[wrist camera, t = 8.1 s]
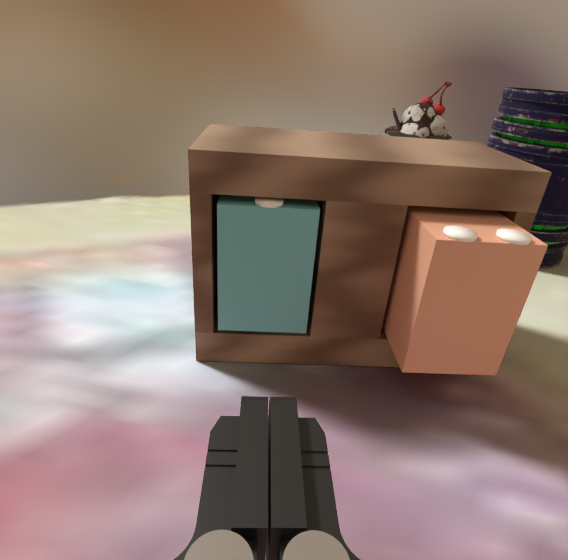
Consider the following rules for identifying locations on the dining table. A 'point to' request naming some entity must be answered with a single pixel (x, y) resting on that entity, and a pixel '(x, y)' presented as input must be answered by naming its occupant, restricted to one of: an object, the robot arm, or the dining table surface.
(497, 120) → the dark blue barrel
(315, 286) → the walnut console
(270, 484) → the robot arm
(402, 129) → the sundae
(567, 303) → the dining table surface
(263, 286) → the grey-green piece
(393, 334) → the terracotta button
